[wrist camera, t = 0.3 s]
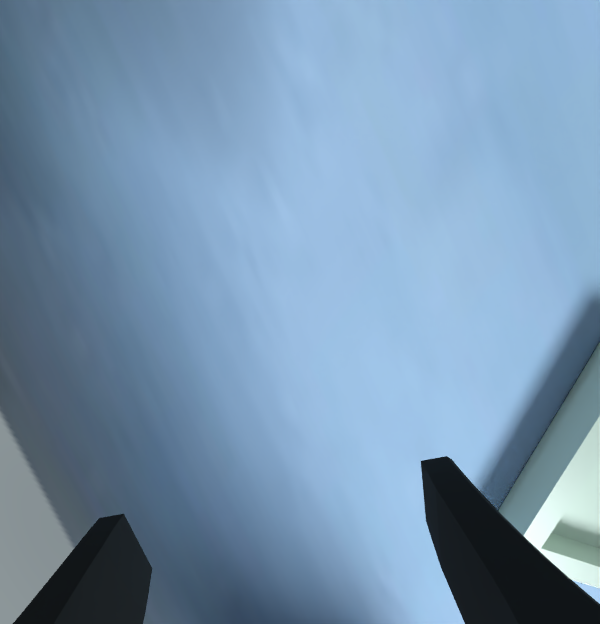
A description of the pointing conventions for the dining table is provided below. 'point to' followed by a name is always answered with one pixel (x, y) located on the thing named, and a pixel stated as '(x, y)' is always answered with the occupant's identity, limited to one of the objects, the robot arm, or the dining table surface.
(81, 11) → the dining table surface
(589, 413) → the sage tray
